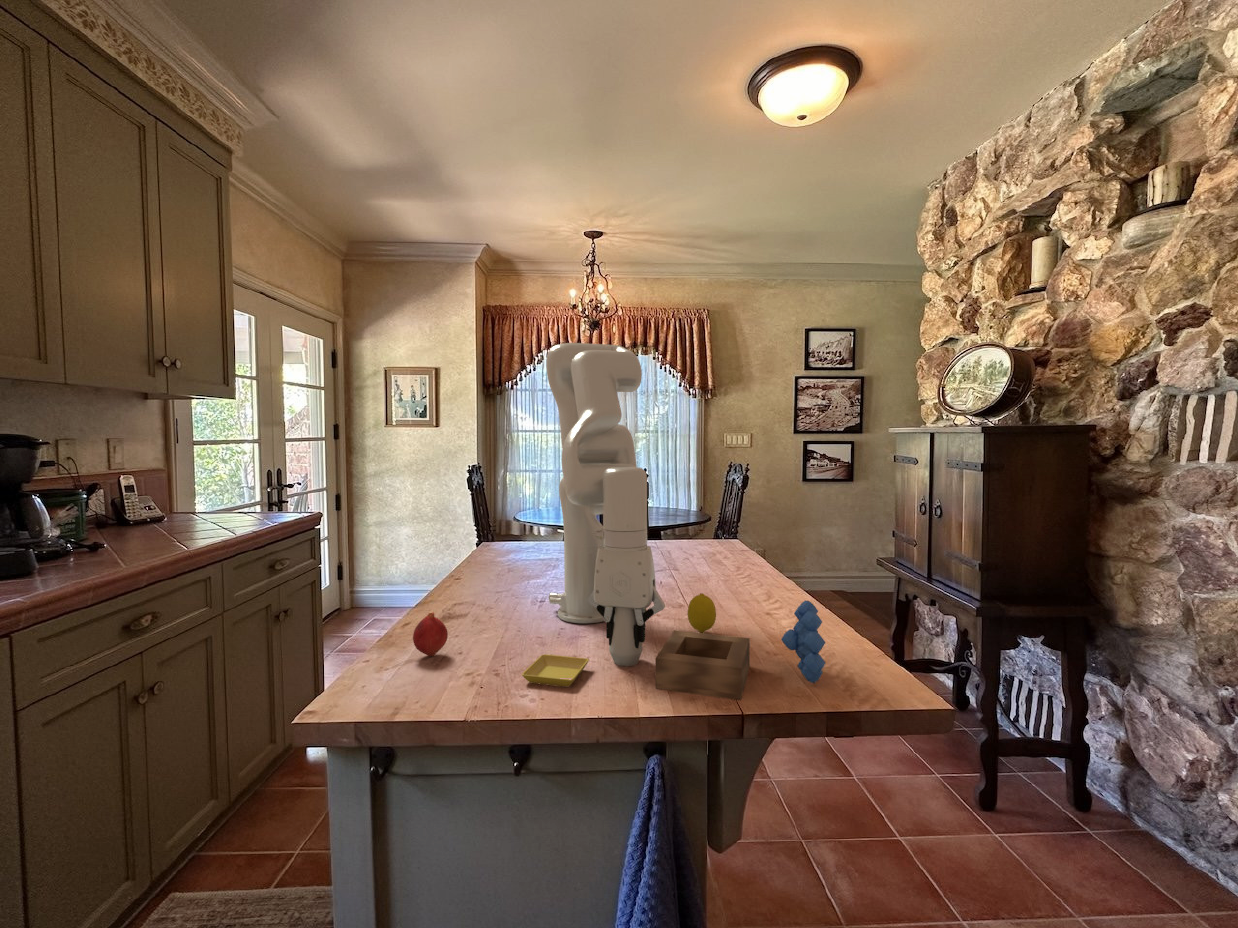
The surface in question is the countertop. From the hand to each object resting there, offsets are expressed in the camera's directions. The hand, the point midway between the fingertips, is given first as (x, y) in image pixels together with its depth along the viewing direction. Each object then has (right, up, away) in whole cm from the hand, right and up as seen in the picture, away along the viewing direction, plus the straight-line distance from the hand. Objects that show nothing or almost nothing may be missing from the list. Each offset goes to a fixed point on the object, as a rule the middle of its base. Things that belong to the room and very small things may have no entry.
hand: (625, 643), depth 98 cm
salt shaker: (0, -3, 0) cm, 3 cm away
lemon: (+15, -3, +14) cm, 21 cm away
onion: (-35, -4, +3) cm, 35 cm away
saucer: (-11, -4, -6) cm, 13 cm away
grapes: (+28, -4, -6) cm, 29 cm away
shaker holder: (+13, -3, -6) cm, 15 cm away
